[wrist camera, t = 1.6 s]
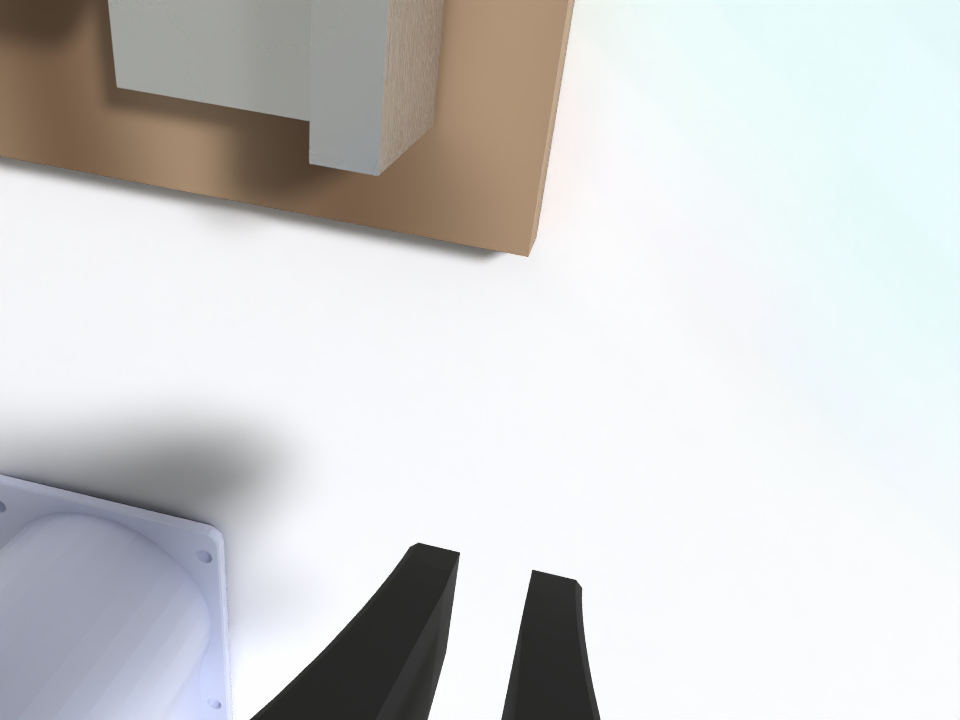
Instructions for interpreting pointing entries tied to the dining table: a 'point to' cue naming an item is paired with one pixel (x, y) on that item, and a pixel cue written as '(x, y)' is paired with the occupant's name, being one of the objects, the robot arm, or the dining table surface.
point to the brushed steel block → (294, 66)
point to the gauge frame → (303, 125)
